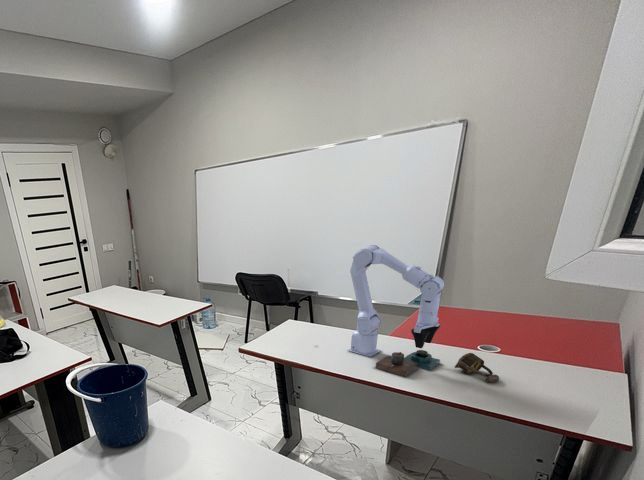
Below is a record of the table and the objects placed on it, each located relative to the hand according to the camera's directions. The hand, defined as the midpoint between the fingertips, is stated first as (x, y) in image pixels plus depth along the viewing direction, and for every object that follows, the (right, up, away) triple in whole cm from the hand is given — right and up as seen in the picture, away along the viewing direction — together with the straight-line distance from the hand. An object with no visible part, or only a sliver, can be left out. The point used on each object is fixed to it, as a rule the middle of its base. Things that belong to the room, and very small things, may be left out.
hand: (423, 345), depth 136 cm
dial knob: (-10, -7, 0) cm, 12 cm away
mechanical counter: (+12, -11, -10) cm, 19 cm away
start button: (+1, -4, +2) cm, 5 cm away
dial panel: (-9, -9, +1) cm, 13 cm away
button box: (+1, -7, +3) cm, 8 cm away
